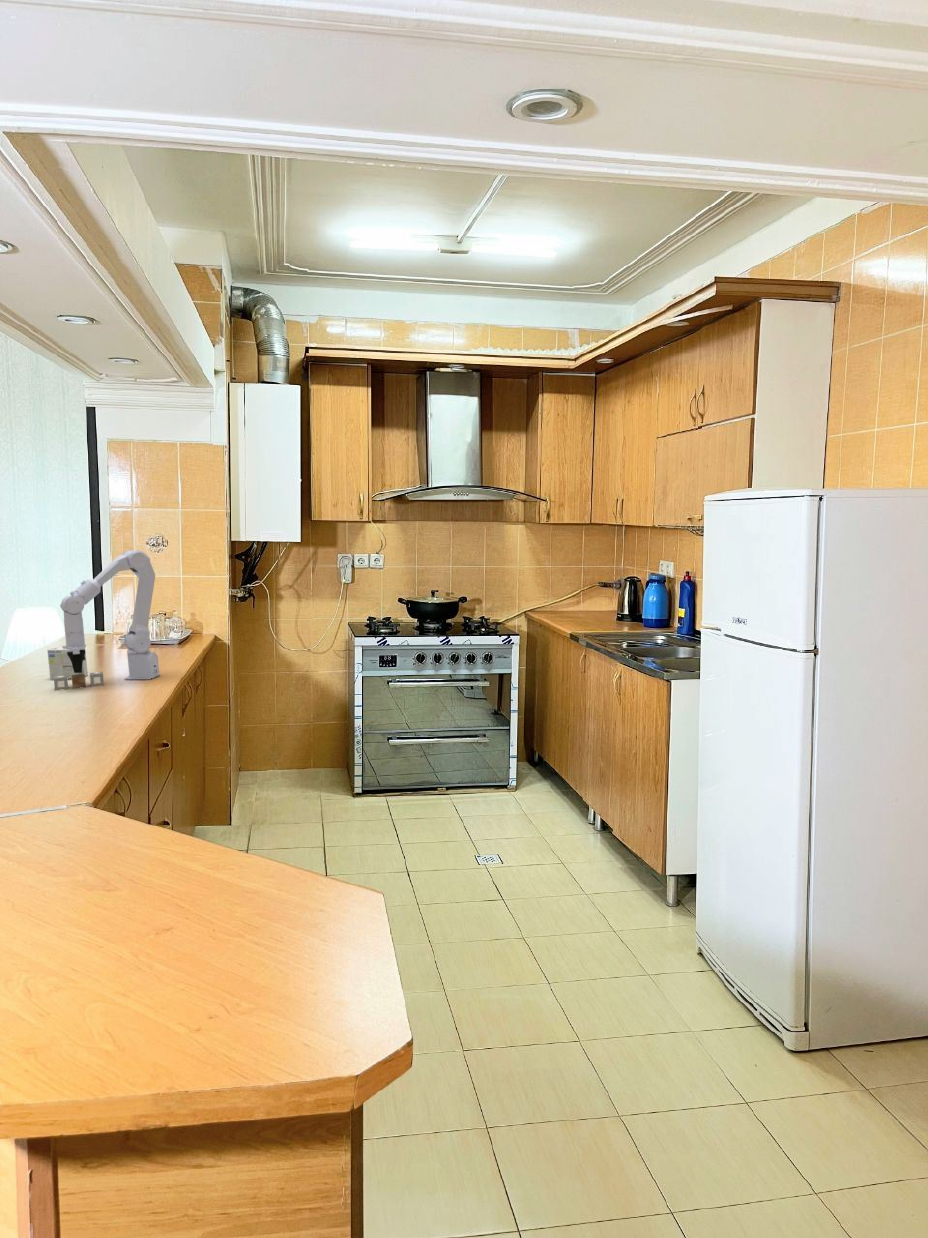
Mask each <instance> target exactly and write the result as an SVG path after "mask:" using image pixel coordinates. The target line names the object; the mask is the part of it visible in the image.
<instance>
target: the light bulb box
mask: <svg viewBox="0 0 928 1238" xmlns="http://www.w3.org/2000/svg"><path fill="white" fill-rule="evenodd" d="M80 650H85V651H86V647H84V648H82V649H80ZM71 651H73V650H69V649H66V648H65V649H63V647H62V646H55V647H53V648H48V649H47V660H48V667H49V669H48V670H49V680H51V679H52V680H54V677H56V676H65V675H67V678H71V679H70V680H72V675H76V674H85V677H87V676H89V673H88V663H87V654H86V653H87V652H86V653H85V655H84V658H83V664H82V672H81V673H75V672H74V670H73V666H72V663H71V660H70V658H69V656H68V655H67V652H71Z"/></svg>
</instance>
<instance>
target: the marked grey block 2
mask: <svg viewBox="0 0 928 1238" xmlns="http://www.w3.org/2000/svg"><path fill="white" fill-rule="evenodd" d="M89 679H90V687H91V686H92V687H98V686H97V685H102V686H105V682H104V672H103V671H98V672H97V671H96V672H89Z"/></svg>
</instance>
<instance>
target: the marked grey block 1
mask: <svg viewBox="0 0 928 1238" xmlns="http://www.w3.org/2000/svg"><path fill="white" fill-rule="evenodd" d="M68 680H69V679H67V675H65V676H56V677H54V679H53V684H54V691H61V690H60V689H64V690H68V689H69V681H68Z"/></svg>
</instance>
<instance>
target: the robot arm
mask: <svg viewBox="0 0 928 1238" xmlns="http://www.w3.org/2000/svg"><path fill="white" fill-rule="evenodd" d="M124 571H132V572H133V574H134V575H135V576H136V577H137V578H138V582H137V588H136V596H135V602H134V609H133V615H132V622H131V625H130V626H129V628H128V632H127V634H126V636H125V637H124V641H123V642H124V645H125V647H126V648H127V649H128V650H127V664H128V665H127V666H128V676H126V677H125V678H124V680H125V681H126V680H127V681H128V680H130V681H131V680H152V679H155V678H157V677H159V676H161V673H160V667H159V656H158V654H157V653H156V652H153V651H150V648H151V645H152V642H151V638H150V629H149V621H150V614H151V608H152V602H153V593H154V588H155V582H156V581H155V580H156V572H155V570H154V567H153V566H152V563H151V558H150V557H149V556H148V555H147V554H146V552H144V551H142V550H139V549H138V550H133V549H127V550H125V551H123V552H122V554H120V555H117V556H116V557H115V558H114V559H113V560H112V561H111V562H110V563H109V564H107V566H106V567H105V568H104V569H102V570H101V572H99V574H97V576H95V577H94V578H91V579H86V580H82V581H81V582H80V585H79V586H78V587H76V589H74V590H71V591H70V592H69V595H66V596H65V597H64V598H63V599H62V600H61V602H60V604H59V606H60V608H61V610H62V611H63V625H64V626H63V627H64V634H65V635H64V636H65V645H62V646H61V647H63V649H65V648H66V649H69V650H73V651H71V652H67V655H68V656H69V658H70V660H71V663H72V666H73V670H74V672H75V673H81V672H82V664H83V658H84V655H85V653H87V652H86V649H85V650H80V649H82V648H84V647H85V648H86V646H87V644H86V641H85V640H86V639H85V631H84V629H85V628H84V620H83V610H84V608H85V606H86V605H87V604H89V602H91V601H92V600H93V599H94V598H95V597H96V596H97V595H99V594H100V593H101V591H102V590H101V587H102V586H103V585H104V584H105V583H107V582H108V581H109V580H111V579H112V578H113V577H114V576H116V575H117V574H118V573H119V572H124ZM151 678H152V679H151Z"/></svg>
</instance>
